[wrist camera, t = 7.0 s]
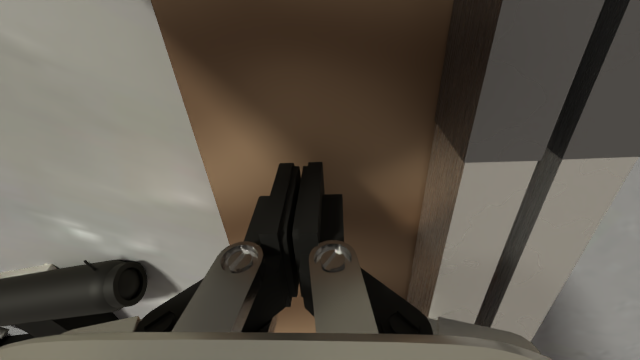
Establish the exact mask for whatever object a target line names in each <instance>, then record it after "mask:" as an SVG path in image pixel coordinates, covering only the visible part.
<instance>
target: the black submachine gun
mask: <svg viewBox="0 0 640 360" xmlns="http://www.w3.org/2000/svg"><path fill="white" fill-rule="evenodd" d="M84 262H85V263H86V265H80V266H74V267H68V268H61V269H57V268H56V267H55V266H54V265H53V264H44V265H43V266H37V267H31V268H25V269H19V270H13V271H7V272H1V273H0V326H8V325H16V326H17V327H19V328H20V329H22V330H24V331H25V332H27V333H29V334H23V335H15V336H6V337H4V336H5V335H6V334H7V332H8V331H9V329H6V328H3V327H0V347H1V346H4V345H7V344H11V343H15V342H20V341H24V340H28V339H33V338H38V337H46V336H53V335H60V334H62V333H64V332H67V331H70V330H73V329H78V328H82V327H87V326H92V325H97V324H102V323H106V322H111V321H116V320H119V319H118V318H117V317H116V316H115V315H114V314H113V313H112V312H114V311H117V310H119V309H121V308H123V307H128V306H133V305H135V304H136V303H138V302H139V301H140V300H141V299H142V297H143V295H144V293H145V291H146V287H147V275H146V272H145V270H144V268H143V267H142V266H141V265H140V264H139V263H136V262H124V261H120V260H111V261H104V262H98V263H92V264H91V263H90V262H89V263H88V262H87V261H86V260H84Z"/></svg>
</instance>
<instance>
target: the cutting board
mask: <svg viewBox="0 0 640 360" xmlns="http://www.w3.org/2000/svg"><path fill="white" fill-rule="evenodd" d="M453 1H454V0H151V3H152V6H153V9H154V12H155V15H156V18H157V21H158V24H159V27H160V30H161V34H162V37H163V40H164V43H165V46H166V49H167V52H168V55H169V58H170V61H171V64H172V68H173V71H174V74H175V77H176V80H177V83H178V86H179V89H180V92H181V95H182V98H183V102H184V105H185V108H186V111H187V114H188V117H189V120H190V123H191V126H192V129H193V132H194V136H195V139H196V142H197V145H198V148H199V151H200V154H201V157H202V160H203V163H204V166H205V170H206V173H207V176H208V179H209V182H210V185H211V188H212V191H213V194H214V197H215V201H216V204H217V207H218V210H219V213H220V216H221V219H222V222H223V225H224V228H225V231H226V235H227V238H228V241H229V244H230V245H232V244H234V243H238V242H243V241H244V238H245V236H246V233H247V230H248V227H249V224H250V221H251V218H252V215H253V213H254V210H255V207H256V204H257V201H258V198H259V197H260V196H270V193H271V190H272V186H273V183H274V180H275V176H276V173H277V170H278V166H279V164H280V163H294V165H295V166H299V167H300V174H301V176H302V170H303V166H308V162H323V175H324V191H325V194H342V197H343V224H344V242H345V243H347V244H349V245H350V246H351V247H352V248H353V249H354V250H355V252H356V254H357V258H358V261H359V265H360V267H361V268H362V269H363V270H365V271H366V272H368V273H369V274H370V275H372V276H373V277H374V278H376V279H377V280H379V281H380V282H381V283H383V284H384V285H385V286H387V287H388V288H390V289H391V290H392V291H394V292H395V293H396V294H398V295H399V296H400V297H402V298H403V299H405V300H406V301H407V295H408V289H409V283H410V277H411V271H412V265H413V259H414V253H415V247H416V241H417V234H418V228H419V222H420V216H421V210H422V204H423V198H424V192H425V186H426V180H427V173H428V167H429V161H430V155H431V149H432V143H433V137H434V131H435V125H436V122H435V121H434V120H435V113H436V107H437V101H438V95H439V88H440V82H441V76H442V70H443V64H444V57H445V51H446V45H447V39H448V32H449V26H450V20H451V14H452V7H453ZM277 316H278V318H277V324H276V327H275V330H274V333H316V327H315V317H314V316H313V315H312V314H311V313H310V312H309V311H307V310H306V309H305V307H304V301H303V297H301V292H300V285H299V287H298V295H297V297H292V301H291V307H285V308H284V309H283V310H282V311H280V312H279V313H278V314H277Z"/></svg>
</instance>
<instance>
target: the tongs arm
mask: <svg viewBox="0 0 640 360" xmlns="http://www.w3.org/2000/svg"><path fill="white" fill-rule="evenodd" d="M604 1H605V0H454V1H453V7H452V14H451V20H450V26H449V32H448V39H447V45H446V51H445V57H444V64H443V70H442V76H441V82H440V88H439V95H438V101H437V107H436V113H435V120H434V121H435V122H436V125H435V131H434V137H433V143H432V149H431V155H430V161H429V167H428V173H427V180H426V186H425V192H424V198H423V204H422V210H421V216H420V222H419V228H418V234H417V241H416V247H415V253H414V259H413V265H412V271H411V277H410V283H409V289H408V295H407V302H409V303H410V304H411V305H413V306H414V307H416V308H417V309H418V310H420V311H421V312H422V313H423V314H424V315H425V316H426V317H427V318H430V319H434V320H438V317H443V318H447V319H452V320H457V321H461V322H466V323H471V324H474V323H475V321H476V318H477V315H478V313H479V310H480V308H481V305H482V303H483V300H484V298H485V295H486V292H487V290H488V287H489V285H490V282H491V280H492V277H493V274H494V272H495V269H496V267H497V264H498V262H499V259H500V257H501V254H502V251H503V249H504V246H505V244H506V241H507V239H508V236H509V234H510V231H511V228H512V226H513V223H514V221H515V218H516V216H517V213H518V211H519V208H520V205H521V203H522V200H523V198H524V195H525V193H526V190H527V188H528V185H529V182H530V180H531V177H532V175H533V172H534V170H535V167H536V165H537V162H538V161H541V160H542V157H543V155H544V152H545V150H546V147H547V145H548V142H549V140H550V137H551V135H552V132H553V130H554V127H555V125H556V122H557V120H558V117H559V115H560V112H561V110H562V107H563V105H564V102H565V100H566V97H567V95H568V92H569V89H570V87H571V84H572V82H573V79H574V77H575V74H576V72H577V69H578V67H579V64H580V62H581V59H582V57H583V54H584V52H585V49H586V47H587V44H588V42H589V39H590V37H591V34H592V32H593V29H594V27H595V24H596V22H597V19H598V17H599V14H600V12H601V9H602V7H603V4H604Z"/></svg>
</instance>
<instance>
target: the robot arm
mask: <svg viewBox="0 0 640 360" xmlns="http://www.w3.org/2000/svg"><path fill="white" fill-rule="evenodd" d="M299 285H300V292H301V297H303V301H304V307H305V309H306V310H307V311H309V312H310V313H311V314H312V315H313V316H314V317H315V327H316V333H274V330H275V327H276V324H277V318H278V316H277V314H278V313H279V312H280V311H282V310H283V309H284V308H285V307H291V301H292V297H297V295H298V287H299ZM0 360H553V359H551V358H549V357H546V356H544V355H541V353H540V351H539V350H538V349H537V348H536V347H535V346H534V345H533V344H532V343H531V342H530V341H528V340H527V339H525V338H524V337H522V336H520V335H518V334H515V333H512V332H508V331H504V330H499V329H494V328H490V327H485V326H480V325H476V324H471V323H466V322H461V321H457V320H452V319H447V318H443V317H438V320H434V319H430V318H427V317H426V316H425V315H424V314H423V313H422V312H421V311H420V310H418V309H417V308H416V307H414V306H413V305H411V304H410V303H409V302H407V301H406V300H405V299H403V298H402V297H400V296H399V295H398V294H396V293H395V292H394V291H392V290H391V289H390V288H388V287H387V286H385V285H384V284H383V283H381V282H380V281H379V280H377V279H376V278H374V277H373V276H372V275H370V274H369V273H368V272H366V271H365V270H363V269H362V268H361V267H360V265H359V261H358V258H357V254H356V252H355V250H354V249H353V248H352V247H351V246H350V245H349V244H347V243H345V242H344V224H343V197H342V194H325V191H324V175H323V162H308V166H303V170H302V176H301V174H300V167H299V166H295V165H294V163H280V164H279V166H278V170H277V173H276V176H275V180H274V183H273V186H272V190H271V193H270V196H260V197H259V198H258V201H257V204H256V207H255V210H254V213H253V215H252V218H251V221H250V224H249V227H248V230H247V233H246V236H245V238H244V241H243V242H238V243H234V244H232V245H230V246H228V247H226V248H225V249H224V250H222V251H221V253H220V254H219V255H218V256H217V258H216V260H215V261H214V263H213V264H212V266H211V268H210V269H209V271H208V273H207V274H206V276H205V277H204V279H202V280H200V281H199V282H197V283H195V284H194V285H192V286H191V287H189V288H187V289H186V290H184V291H183V292H181V293H179V294H178V295H176V296H175V297H173V298H171V299H170V300H168V301H167V302H165V303H163V304H162V305H160V306H159V307H157V308H155V309H154V310H152V311H151V312H150V313H148V314H147V315H146V316H145V317H144V318H143V319H140V318H139V317H138V316H135V317H130V318H126V319H121V320H116V321H111V322H106V323H102V324H97V325H92V326H87V327H82V328H78V329H73V330H70V331H67V332H64V333H62V334H60V335H53V336H46V337H38V338H33V339H28V340H24V341H20V342H15V343H11V344H7V345H4V346H1V347H0Z"/></svg>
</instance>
